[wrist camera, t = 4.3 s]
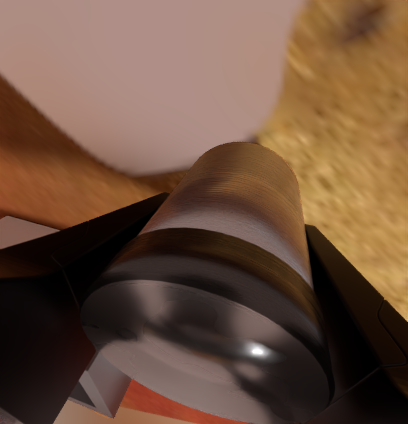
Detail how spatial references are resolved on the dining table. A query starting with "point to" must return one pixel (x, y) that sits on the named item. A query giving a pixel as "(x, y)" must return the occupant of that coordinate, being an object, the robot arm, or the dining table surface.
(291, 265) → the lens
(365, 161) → the dining table surface
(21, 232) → the tray on white base
